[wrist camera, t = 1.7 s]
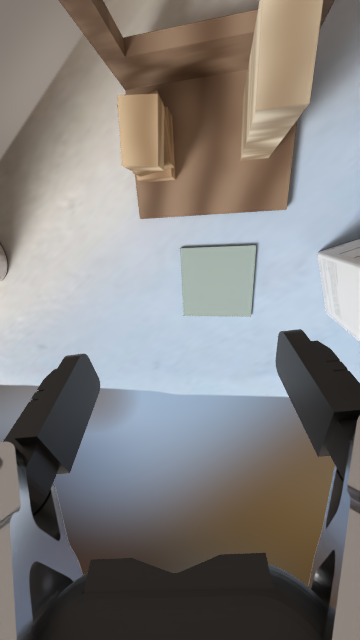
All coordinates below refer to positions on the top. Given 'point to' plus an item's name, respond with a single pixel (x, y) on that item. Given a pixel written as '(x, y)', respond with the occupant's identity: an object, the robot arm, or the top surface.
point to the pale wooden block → (278, 73)
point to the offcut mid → (167, 149)
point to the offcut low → (170, 173)
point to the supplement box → (342, 284)
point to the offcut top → (141, 132)
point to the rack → (195, 110)
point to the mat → (218, 280)
